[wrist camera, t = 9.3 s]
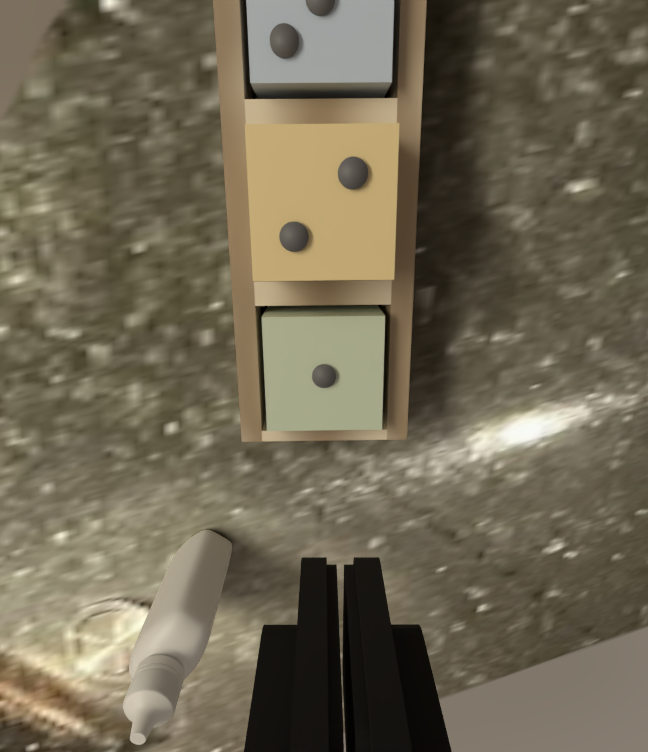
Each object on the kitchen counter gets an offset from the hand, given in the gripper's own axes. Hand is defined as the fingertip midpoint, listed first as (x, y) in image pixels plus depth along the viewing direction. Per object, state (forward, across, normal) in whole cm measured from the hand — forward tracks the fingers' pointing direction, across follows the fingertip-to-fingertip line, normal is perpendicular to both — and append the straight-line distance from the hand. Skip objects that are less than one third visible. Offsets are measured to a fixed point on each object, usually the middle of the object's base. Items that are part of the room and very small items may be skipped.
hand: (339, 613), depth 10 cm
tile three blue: (+19, 0, -17) cm, 25 cm away
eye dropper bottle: (+20, +9, +14) cm, 26 cm away
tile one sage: (+19, 0, -1) cm, 19 cm away
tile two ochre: (+16, 0, -9) cm, 18 cm away
